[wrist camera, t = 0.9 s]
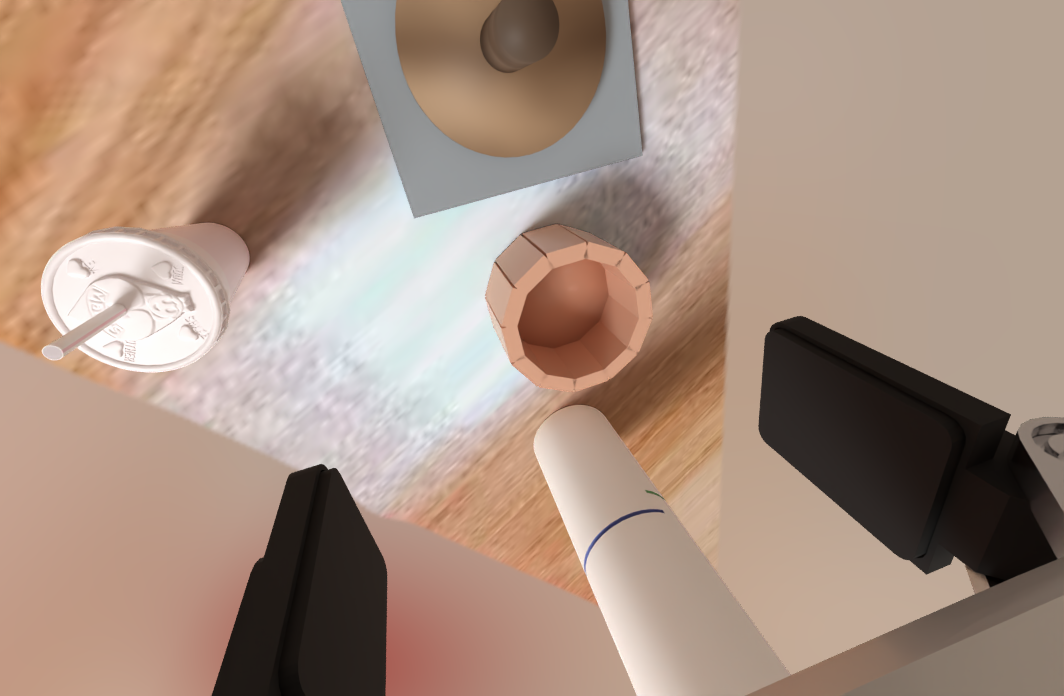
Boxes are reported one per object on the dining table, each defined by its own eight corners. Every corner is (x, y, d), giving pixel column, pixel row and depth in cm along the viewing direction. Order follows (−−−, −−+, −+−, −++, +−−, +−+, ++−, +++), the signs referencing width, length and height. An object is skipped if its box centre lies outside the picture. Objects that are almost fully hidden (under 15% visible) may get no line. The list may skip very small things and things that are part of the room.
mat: (304, -109, 22) (301, -115, 22) (607, -163, 24) (611, -169, 24) (413, 216, 30) (414, 218, 29) (638, 155, 32) (642, 155, 31)
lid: (359, -69, 23) (349, -127, 18) (582, -111, 25) (632, -176, 19) (435, 178, 29) (443, 189, 23) (611, 130, 30) (656, 131, 25)
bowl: (470, 248, 32) (485, 271, 26) (604, 209, 33) (643, 224, 28) (505, 369, 36) (523, 409, 31) (621, 331, 38) (657, 363, 32)
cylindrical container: (542, 403, 39) (730, 757, 17) (618, 406, 41) (869, 723, 19) (526, 471, 41) (670, 853, 20) (598, 471, 44) (798, 813, 22)
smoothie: (133, 202, 26) (-107, 268, 14) (258, 195, 27) (143, 249, 15) (174, 309, 29) (7, 443, 16) (286, 297, 30) (208, 413, 18)
